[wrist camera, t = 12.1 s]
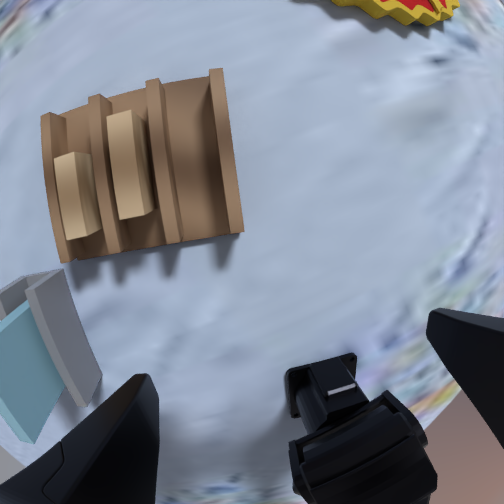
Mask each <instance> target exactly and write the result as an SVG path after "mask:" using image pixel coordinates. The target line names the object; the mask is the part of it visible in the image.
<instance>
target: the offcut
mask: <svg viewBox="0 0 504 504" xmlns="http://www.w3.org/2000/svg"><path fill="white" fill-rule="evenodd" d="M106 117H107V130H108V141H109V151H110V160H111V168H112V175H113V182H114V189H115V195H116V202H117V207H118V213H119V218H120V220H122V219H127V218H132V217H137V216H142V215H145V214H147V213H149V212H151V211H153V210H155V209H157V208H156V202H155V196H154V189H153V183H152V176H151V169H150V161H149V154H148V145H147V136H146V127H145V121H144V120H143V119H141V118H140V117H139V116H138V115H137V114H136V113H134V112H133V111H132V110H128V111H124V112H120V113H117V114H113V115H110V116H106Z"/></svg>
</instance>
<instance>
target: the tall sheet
mask: <svg viewBox="0 0 504 504" xmlns="http://www.w3.org/2000/svg"><path fill="white" fill-rule="evenodd" d="M65 386H66V385H65V384H64V382H63V380H62V378H61V376H60V374H59V372H58V370H57V368H56V366H55V364H54V362H53V360H52V358H51V356H50V354H49V352H48V350H47V348H46V345H45V343H44V341H43V339H42V336H41V334H40V332H39V329H38V327H37V324H36V322H35V319H34V316H33V314H32V311H31V308H30V306H29V303H28V300H26V301H25V302H24V303H22V304H21V305H20V306H19V307H17V308H16V309H15V310H14V311H12V312H11V313H10V314H9V315H8V316H6V317H5V318H4V319H3V320H2V321H0V414H1V416H2V417H3V419H4V420H5V421H6V423H7V424H8V426H9V427H10V428H11V430H12V431H13V432H14V433H15V435H16V436H17V437H18V439H19V440H20V441H23V442H27V443H31V444H35V442H36V440H37V438H38V436H39V434H40V432H41V430H42V428H43V426H44V424H45V422H46V420H47V419H48V417H49V415H50V413H51V411H52V409H53V407H54V405H55V404H56V402H57V400H58V398H59V396H60V395H61V393H62V391H63V389H64V388H65Z"/></svg>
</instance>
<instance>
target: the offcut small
mask: <svg viewBox="0 0 504 504" xmlns="http://www.w3.org/2000/svg"><path fill="white" fill-rule="evenodd" d="M54 165H55V174H56V182H57V189H58V196H59V202H60V208H61V214H62V219H63V225H64V229H65V234H66V239H67V240H71V239H75V238H80V237H84V236H88V235H90V234H92V233H94V232H96V231H98V230H100V229H102V228H103V224H102V219H101V214H100V208H99V202H98V196H97V190H96V183H95V176H94V168H93V160H92V155H91V154H85V153H79V152H71V153H68V154H66V155H63V156H60V157H57V158H54Z"/></svg>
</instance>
